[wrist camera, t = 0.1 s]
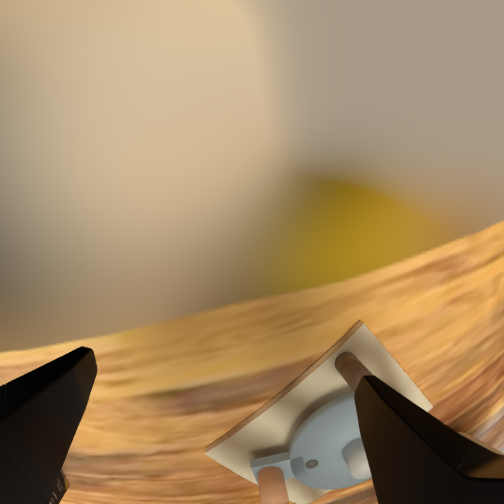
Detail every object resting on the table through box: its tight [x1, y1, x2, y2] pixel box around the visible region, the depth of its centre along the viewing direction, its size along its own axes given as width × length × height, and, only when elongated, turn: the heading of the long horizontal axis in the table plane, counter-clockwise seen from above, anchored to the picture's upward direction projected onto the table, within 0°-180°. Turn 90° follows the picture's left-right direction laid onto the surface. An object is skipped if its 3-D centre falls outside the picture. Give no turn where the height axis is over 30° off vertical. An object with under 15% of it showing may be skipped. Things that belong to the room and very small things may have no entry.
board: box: [205, 320, 433, 504], centre depth 23 cm, size 20×16×5 cm
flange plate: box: [250, 392, 372, 504], centre depth 20 cm, size 16×13×5 cm
